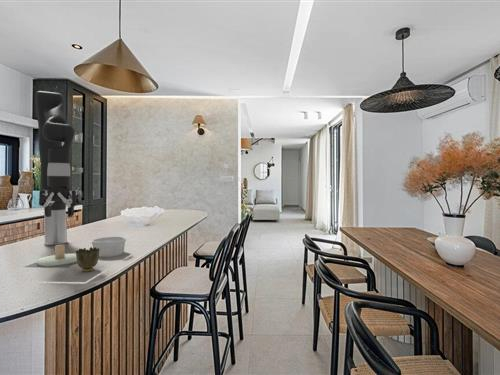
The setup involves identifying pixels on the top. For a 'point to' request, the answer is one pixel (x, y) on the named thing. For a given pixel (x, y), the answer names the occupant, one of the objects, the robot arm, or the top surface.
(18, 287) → the top surface
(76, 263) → the mat
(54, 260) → the lid
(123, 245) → the ramekin
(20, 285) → the top surface
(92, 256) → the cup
